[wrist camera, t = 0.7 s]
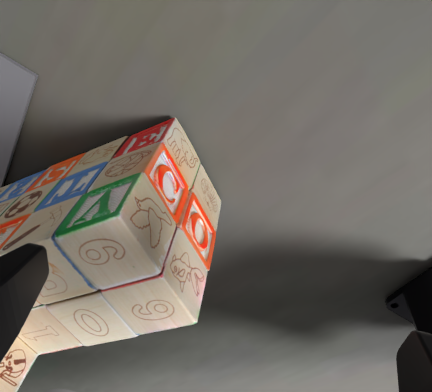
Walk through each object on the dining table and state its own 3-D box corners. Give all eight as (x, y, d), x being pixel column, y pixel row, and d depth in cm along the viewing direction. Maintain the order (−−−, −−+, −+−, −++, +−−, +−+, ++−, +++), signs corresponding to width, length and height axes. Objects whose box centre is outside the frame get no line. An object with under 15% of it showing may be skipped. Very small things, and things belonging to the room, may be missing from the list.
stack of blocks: (176, 111, 20) (85, 281, 10) (224, 200, 23) (189, 400, 13) (-79, 217, 27) (-284, 381, 17) (-18, 275, 30) (-161, 444, 20)
